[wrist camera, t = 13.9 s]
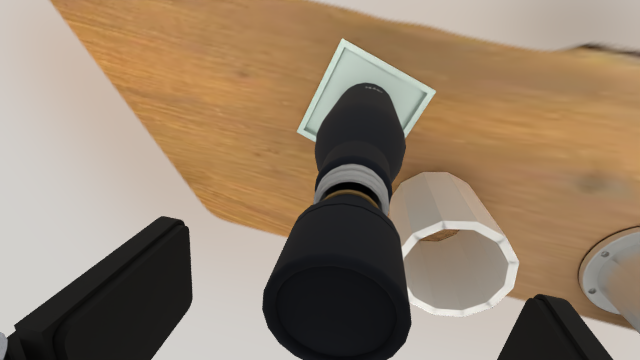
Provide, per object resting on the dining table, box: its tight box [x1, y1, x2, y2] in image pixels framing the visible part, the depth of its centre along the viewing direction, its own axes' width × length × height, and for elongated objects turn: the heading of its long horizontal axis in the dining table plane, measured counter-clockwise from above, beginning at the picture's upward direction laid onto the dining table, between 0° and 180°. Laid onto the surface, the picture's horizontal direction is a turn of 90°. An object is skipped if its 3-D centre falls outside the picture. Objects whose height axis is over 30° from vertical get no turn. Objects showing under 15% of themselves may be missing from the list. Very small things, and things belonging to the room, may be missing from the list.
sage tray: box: [297, 39, 436, 142], centre depth 35 cm, size 11×11×2 cm
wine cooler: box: [389, 172, 519, 317], centre depth 34 cm, size 11×11×12 cm
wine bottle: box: [262, 82, 411, 360], centre depth 22 cm, size 6×6×30 cm
